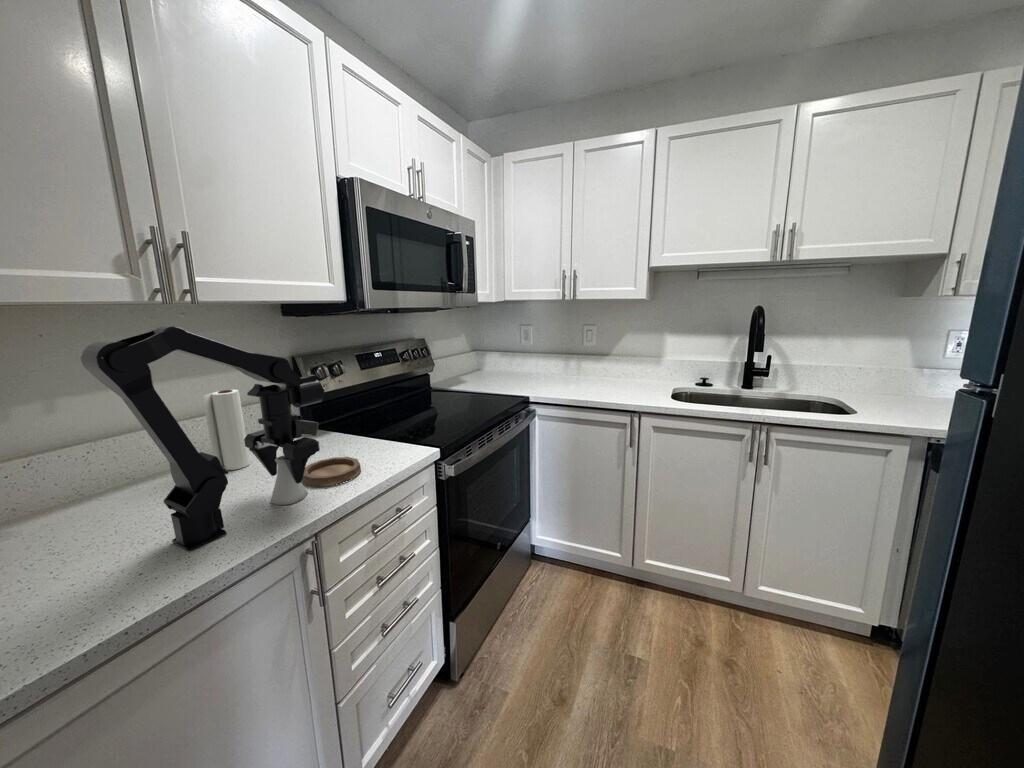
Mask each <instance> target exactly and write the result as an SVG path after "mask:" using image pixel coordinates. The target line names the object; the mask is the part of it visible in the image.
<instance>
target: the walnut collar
mask: <svg viewBox="0 0 1024 768" xmlns="http://www.w3.org/2000/svg"><path fill="white" fill-rule="evenodd" d="M361 467H362V466H361V463H360V462H359V460H358V459H357V458H354V457H349V456H342V457H341V456H336V457H335V456H334V457H330V458H325V459H321V460H317V461H315V462H312V463H310V464H308V465H306V467H305V471H304V475H303V479H302V482H301V483H302V485H304V484H305V486H306V485H307V486H306V487H309V486H310V488H327V487H326V486H329V487H333V486H332V485H335V486H337V485H336V484H339V485H341V484H340V483H343V482H346V481H348V482H350V481H352V480H354V479H356V478H357V477H358V476H360V475H361V473H362V468H361ZM360 472H361V473H360ZM355 477H356V478H355ZM351 479H352V480H351ZM349 480H350V481H349ZM346 483H347V482H346ZM343 484H344V483H343Z"/></svg>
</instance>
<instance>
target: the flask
mask: <svg viewBox="0 0 1024 768" xmlns="http://www.w3.org/2000/svg"><path fill="white" fill-rule="evenodd" d="M284 458H286V457H285V455H284V454H283V455H279V456H278V457H277V458H276V459H275V461H276V462H277V474H276V477H275V483H274V487H273V491H272V494H271V498H270V502H269V503H271V504H274V505H276V506H284V505H292V504H294V503H296V502H299V501H301V500H302V499H305V497H306V496H307V494H309V493H308V491H307V489H306V487H305V486H304V484H303V482H301V483H298V484H297V483H296V482H295V480H294V479H293V477H292V475H291V473H290V471H289V469H288V467H287V465H286V463H285V461H284Z"/></svg>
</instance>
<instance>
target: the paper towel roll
mask: <svg viewBox="0 0 1024 768" xmlns="http://www.w3.org/2000/svg"><path fill="white" fill-rule="evenodd" d="M239 391H240V390H239V389H225V390H219V391H214V392H210V393H207V394H203V395H202V401H203V405H204V406H203V407H204V412H205V417H206V419H205V420H206V424H207V428H208V434H209V440H210V446H211V451H212V455H213V456H216V457H217V458H218V459H219V461H220V463H221V466H222V468H223V469H224V470H226V471H230V470H231V471H234V470H240V469H243V468H245V467H247V466H249V465H250V464H251V458H250V450H249V448H248V447H245V442H244V439H245V437H246V436H247V433H246V427H245V423H244V415H243V409H242V403H241V396H240V392H239Z"/></svg>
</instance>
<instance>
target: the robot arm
mask: <svg viewBox="0 0 1024 768" xmlns="http://www.w3.org/2000/svg"><path fill="white" fill-rule="evenodd" d="M174 351H176V352H179V353H182V354H185V355H189V356H192V357H195V358H199V359H203V360H206V361H210V362H213V363H216V364H220V365H222V366H227V367H231V368H233V369H235V370H237V371H239V373H242V374H243V375H245V376H247V377H248V378H251V379H254V380H256V381H259V382H263V383H264V382H265V383H273V384H270V385H265V386H264V385H263V384H259V383H255V384H254V385H253V387H252V388H251V389H250V390H249V391H248V392H247V393H246V394H247V396H251V397H256V398H259V399H258V400H259V403H260V404H259V405H260V406H259V407H260V412H261V418H258V419H257V420H258V424H259V425H263V429H261V430H258V431H254V432H250V433H248V434H247V433H246V437H245V439H244V442H245V447H248V451H249V452H251V453H252V454H253V455H254V456H255V457H256V459H257V460H258V461H259V462H260V463H261V465H262V467H264V468H265V470H266V471H267V472H268V473H269V474H270V476H271V477H274V476H277V470H278V467H277V462H276V461H275V459H276V458H277V456H278V455H277V451H278V449H279V448H282V454H283V455H285V457H286V458H284V461H285V463H286V465H287V467H288V469H289V471H290V473H291V475H292V477H293V479H294V480H295V482H296V483H297V484H298V483H303V482H302V479H303V475H304V471H305V467H307V462H308V460H309V459H310V458H311V456H313V455H316V453H318V452H319V451H321V448H320V447H321V446H320V441H318V440H317V439H316V438H310V437H306V436H305V437H303V435H309V436H310V435H311V436H314V437H316V436H317V434H318V430H319V424H320V422H317V421H311V420H306V419H303V416H302V415H298V414H293V411H292V406H293V407H294V408H301V407H306V406H310V405H313V404H317V403H321V402H323V401H324V399H325V394H326V393H325V389H324V387H323V385H322V383H321V382H320V381H319V380H318V375H316V374H308V375H305V376H301V377H300V376H299V375H298V374H297V372H295V371H294V370H293V369H292V368H291V364H290V361H289V360H288V359H287V358H286V357H283V356H279V355H273V354H268V353H259V352H253V351H247V350H244V349H241V348H238V347H236V346H232V345H229V344H226V343H224V342H220V341H217V340H214V339H211V338H208V337H206V336H203V335H200V334H196V333H193V332H191V331H188V330H186V329H183V328H182V327H180V326H175V325H172V326H171V325H166V326H165V325H164V326H163V325H162V326H158V327H157V328H155V329H152V330H150V331H147V332H144V333H139V334H136V335H132V336H130V337H126V338H121V339H119V340H116V341H110V340H108V341H107V340H100V341H95V342H93V343H91V344H89V345H87V347H85V348H84V350H82V353H81V356H80V362H81V364H82V366H83V368H85V369H86V370H87V371H88V373H90V374H91V375H92V376H93V377H94V378H96V380H97V381H99V382H100V383H101V384H103V385H104V386H105V387H107V388H108V389H109V390H110V391H112V392H113V393H114V394H116V395H117V396H119V397H120V399H121V400H122V401H123V402H124V404H125V405H126V406H127V408H128V409H129V410H130V412H131V413H132V414H133V416H134V417H135V418H136V419H137V421H138V423H140V425H141V426H142V428H143V429H144V430H145V431H146V433H147V434H148V435H149V437H150V438H151V440H152V441H153V442H154V444H155V446H157V447H158V449H159V451H160V452H161V453H162V454H163V456H164V457H165V458H166V460H167V461H168V463H169V470H170V474H171V478H172V480H173V482H174V486H173V487H172V489H171V491H170V492H169V493H168V494H167V495H166V497H165V498H164V499H163V504H164V505H165V506H166V507H167V508H168V509H169V510H172V511H175V512H172V513H171V514H170V516H171V521H172V522H171V523H172V526H173V530H174V531H173V532H174V537H175V538H173V539H172V540H171V541H172V543H173V544H174V545H176V546H179V547H180V548H182V549H184V550H185V551H189V552H190V551H193V550H194V549H197V548H199V547H202V546H203V545H206V544H207V543H210V542H212V541H214V540H217V539H218V538H221V537H222V536H224V535H227V530H225V529H224V527H225V525H224V518H223V513H222V508H221V502H222V498H223V494H224V492H225V490H226V488H227V486H228V485H229V480H228V476H227V475H228V474H229V471H228V470H226V469H225V468H222V466H221V463H220V461H219V459H218V458H217V457H216V456H213V454H210V453H206V452H203V451H200V452H199V451H198V450H197V449H196V447H195V445H194V444H193V443H192V441H191V440H190V438H189V437H188V436H187V434H186V433H185V431H184V430H183V428H182V427H181V426H180V424H179V422H178V421H177V420H176V418H175V416H174V415H173V414H172V412H171V410H169V408H168V406H166V404H165V402H164V401H163V400H162V398H161V396H160V395H159V394H158V392H157V390H156V389H155V387H154V384H153V383H154V381H153V377H152V371H151V369H150V366H149V364H151V363H154V362H156V361H157V360H158V361H159V360H160V359H162V358H163V357H166V356H167V355H169V354H171V353H172V352H174ZM279 384H280V385H284V386H280V385H279Z"/></svg>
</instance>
